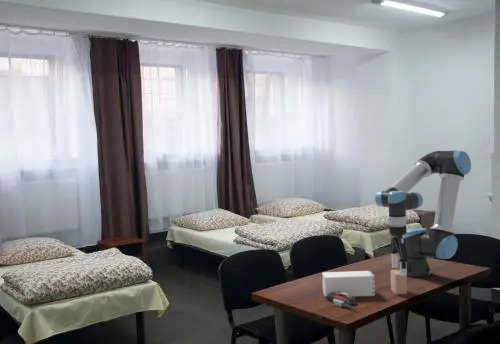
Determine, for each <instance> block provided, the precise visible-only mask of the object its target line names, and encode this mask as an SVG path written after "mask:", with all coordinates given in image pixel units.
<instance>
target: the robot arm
mask: <svg viewBox="0 0 500 344" xmlns="http://www.w3.org/2000/svg"><path fill="white" fill-rule="evenodd" d="M471 169H472V160H471V157H470V155H469V154H468V153H467V152H466V151H464V150H458V149H457V150H435V151H431V152H430V153H427V154H425V155H423V156H422V157H421V158H420V159H418V160H416V162H415V163H414V166H413V167H411V168H410V169H409V170H408V171H406V173H405V174H404V175H402V176H401V177H400V178H399V179H398V180H396V182H394V183H393V184H392V185H391V186H390V187H388V188H387V189H386V190H379V191H377V192H376V193H375V196H374V201H375V204H376V205H377V206H379V207H382V208H388V218H387V221H388V225H389V227H388V231H389V234H390V236H391V237H390V245H389V246H390V247H389V251H390V253H391V268H392V269H395V268H397V269H398V268H399V270H400V276H407V277H410V278H411V277H412V278H425V277H429V276H431V274H432V269H431V266H430V263H429V259H428V257H432V258H438V259H440V260H442V259H444V260H447V259H452V257H453V256H454V255H455V253H457V250H458V246H459V245H458V238H457V237H456V236H455V232H454V230H453V224H454V217H455V212H456V207H457V201H458V195H459V189H460V184H461V181H463V180H464V179H465V175H466V176H467V175H468V174H470V172H471ZM434 174H439V175H438V176H439V177H440V178H441V181H440V186H439V192H438V198H437V202H436V204H437V205H436V209H435V215H434V221H433V225H432V226H431V227H429V228H428V229H429V230H428V229H427V228H425V227H421V228H419V227H418V228H409V229H407V211H411V210H416V209H418V208H421V207H422V206H423V204H424V198H423V196H422V194H421V193H419V192H414V191H413V192H410V191H411V190H412V189H414V187H416V186H417V185H418V184H419V183H420V182H421V181H423V179H425V178H428V177H430V176H431V175H434Z"/></svg>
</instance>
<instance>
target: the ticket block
mask: <svg viewBox="0 0 500 344" xmlns="http://www.w3.org/2000/svg"><path fill="white" fill-rule="evenodd" d="M321 275H322V276H321V278H322V279H321V280H322V293H323V295H324V298H325V297H326V296H328V294H329V293H332V292H339V293H342V292H344V293H347V294H350V296H351V297H354V298H355V297H374V296H375V295H376V292H375V291H376V289H375V274H373V272H372V271H370V270H357V271H355V270H354V271H326V272H325V271H322V274H321Z"/></svg>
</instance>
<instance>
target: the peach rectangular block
mask: <svg viewBox="0 0 500 344" xmlns="http://www.w3.org/2000/svg"><path fill="white" fill-rule="evenodd" d="M407 277H408V276H400V269H390V290H391V291H392V292H393V293H394V294H395V295H408V287H407V286H408V285H407V283H408V282H407V281H408V280H407V279H408V278H407Z"/></svg>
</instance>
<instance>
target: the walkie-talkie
mask: <svg viewBox="0 0 500 344" xmlns="http://www.w3.org/2000/svg"><path fill="white" fill-rule="evenodd" d="M324 298H325V299H326V300H328V301H329V302H332V303H333V304H334V305H335V306H338V307H340V308H343V307H344V308H348V309H351V310H356V311H357V310H358V309H357V307H354V306H352V305H355V304H356V297H355V296H354V297H351V296H350V294H347V293H344V292H342V293H339V292H332V293H329V294H328V296H326V297H325V296H324Z"/></svg>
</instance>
